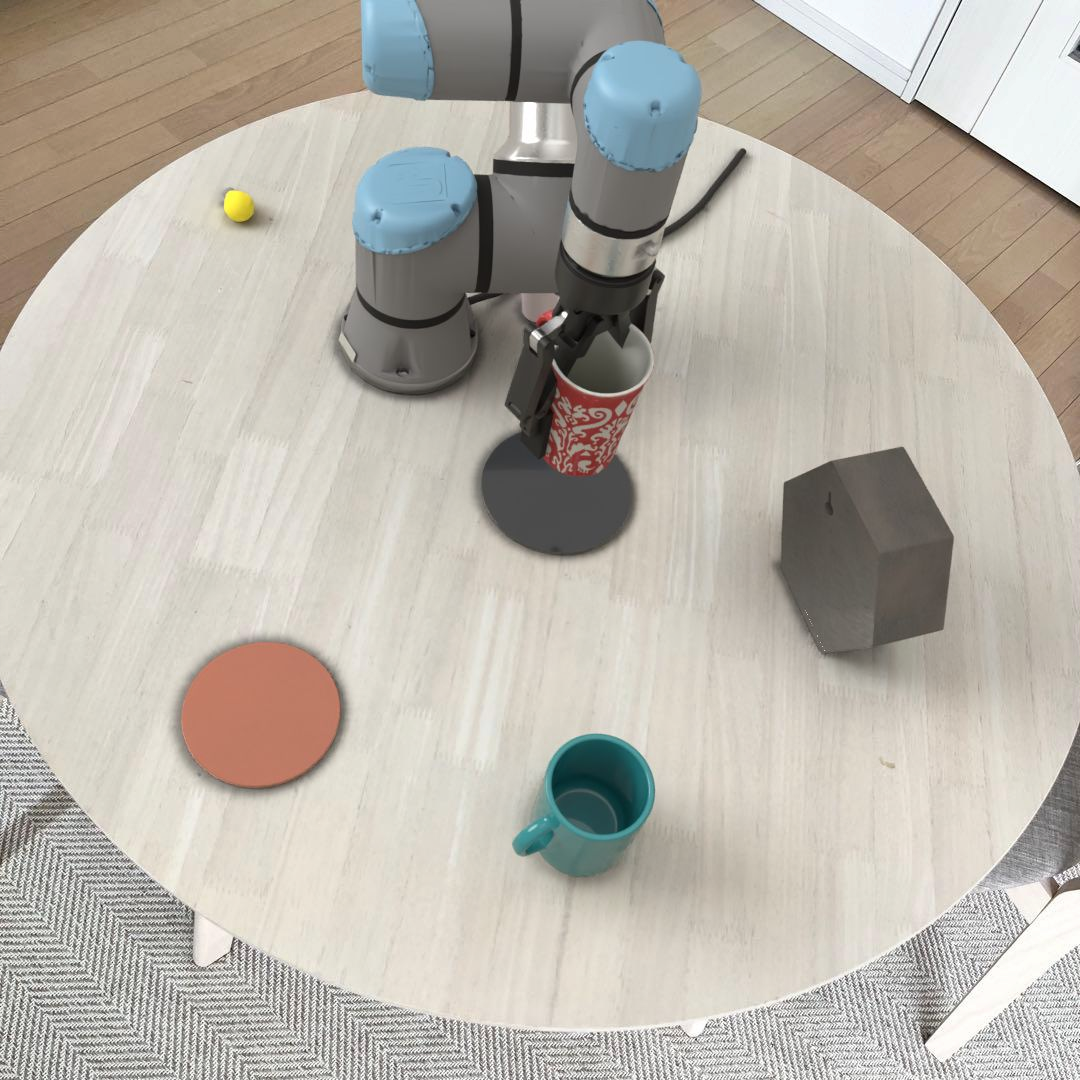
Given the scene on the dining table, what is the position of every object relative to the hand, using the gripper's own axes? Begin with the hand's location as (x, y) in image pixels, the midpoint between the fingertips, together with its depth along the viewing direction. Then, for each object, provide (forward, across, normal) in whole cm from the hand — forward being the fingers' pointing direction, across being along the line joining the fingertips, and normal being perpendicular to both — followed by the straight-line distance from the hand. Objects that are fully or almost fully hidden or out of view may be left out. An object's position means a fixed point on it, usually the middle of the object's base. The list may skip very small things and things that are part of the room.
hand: (567, 425), depth 106 cm
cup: (+15, -22, -27) cm, 37 cm away
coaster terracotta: (+15, -36, -1) cm, 38 cm away
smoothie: (+15, +17, +21) cm, 31 cm away
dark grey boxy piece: (+15, +16, -26) cm, 34 cm away
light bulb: (+15, -2, +54) cm, 56 cm away
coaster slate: (+15, +2, +1) cm, 15 cm away
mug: (+2, 0, 0) cm, 2 cm away
